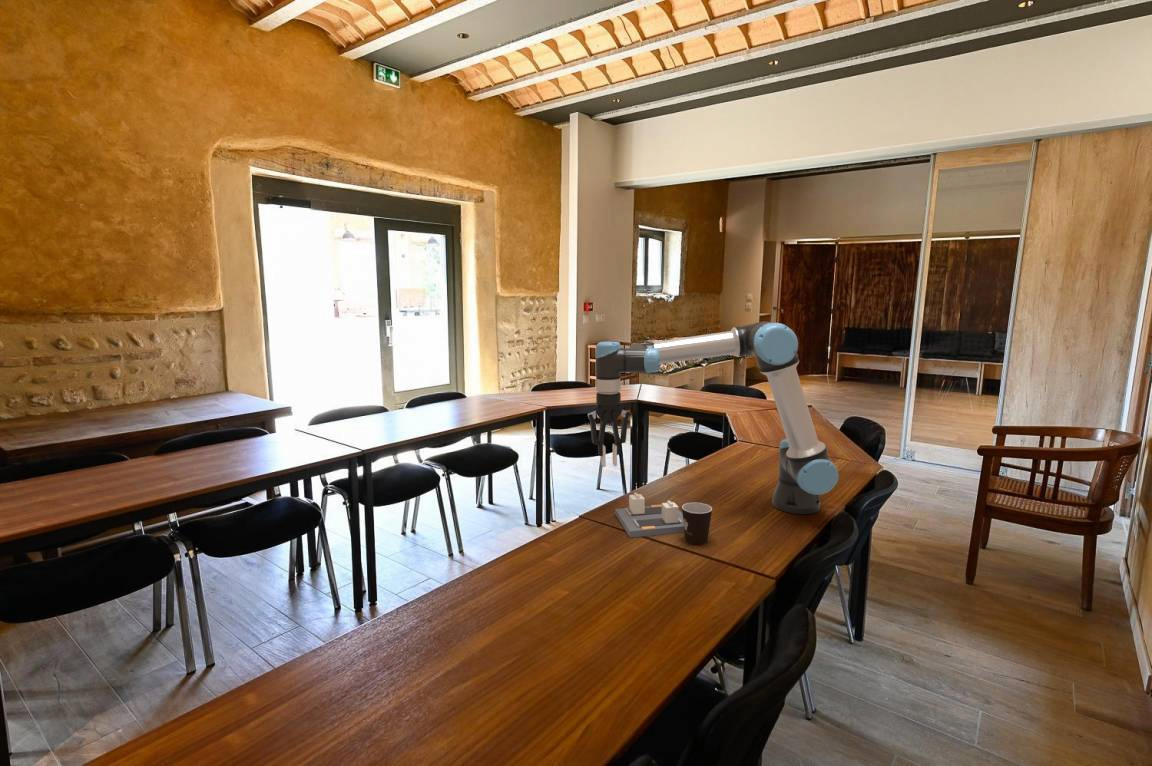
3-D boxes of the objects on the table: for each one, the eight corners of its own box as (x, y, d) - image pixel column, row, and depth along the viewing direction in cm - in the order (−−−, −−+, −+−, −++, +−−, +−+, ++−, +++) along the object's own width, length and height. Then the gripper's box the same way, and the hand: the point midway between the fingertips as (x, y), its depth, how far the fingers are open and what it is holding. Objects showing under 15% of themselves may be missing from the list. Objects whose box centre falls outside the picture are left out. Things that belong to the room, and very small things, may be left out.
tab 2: (673, 517, 177) (674, 499, 176) (678, 522, 173) (678, 504, 172) (661, 518, 176) (661, 500, 175) (665, 523, 172) (666, 505, 172)
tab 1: (641, 508, 184) (641, 491, 184) (644, 513, 181) (644, 496, 180) (629, 509, 184) (629, 492, 183) (632, 514, 180) (632, 497, 179)
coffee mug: (711, 547, 161) (712, 514, 159) (680, 545, 162) (681, 512, 161) (710, 531, 172) (711, 499, 170) (681, 529, 174) (682, 498, 172)
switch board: (673, 509, 189) (673, 502, 189) (693, 531, 172) (693, 523, 171) (615, 514, 186) (615, 507, 186) (630, 537, 168) (630, 529, 168)
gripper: (630, 388, 179) (630, 460, 183) (580, 391, 177) (582, 463, 180) (636, 392, 172) (637, 466, 176) (585, 395, 169) (586, 470, 173)
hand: (609, 465), depth 178 cm, fingers open, 3 cm apart
